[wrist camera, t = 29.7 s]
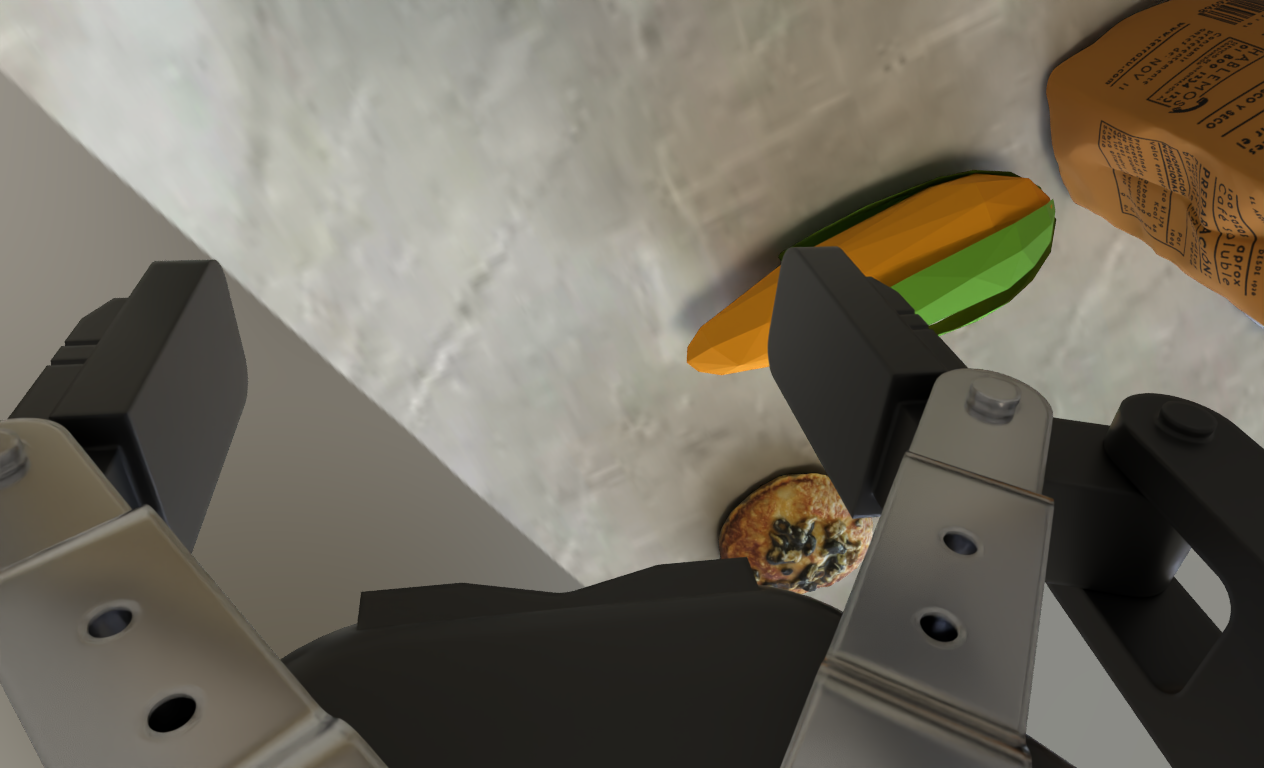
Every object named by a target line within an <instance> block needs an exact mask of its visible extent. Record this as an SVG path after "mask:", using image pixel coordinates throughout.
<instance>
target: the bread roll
mask: <svg viewBox="0 0 1264 768" xmlns="http://www.w3.org/2000/svg"><path fill="white" fill-rule="evenodd" d="M872 527H873V521H872V518H871V517H870V518H858V519H852V517H851V516H850V514H849V512H848V510H847V508H846V507H845V505H844V503H843V501H842V499H841V498H840V496H839V494H838V492H837V491H836V489H835V487H834V485H833V483H832V482H831V480H830V478H829V477H828V476H827V475H821V474H818V473H809V474H796V475H795V474H793V475H791V474H789V475H782V476H781V477H780V476H779V477H777V478H776V479H773V480H771V481H769V482H768V483H766V484H765V485H763V486H762V485H761V486H760V488H758V489H757V490H755V491H754V492H753V493H751V494H750V495H749V496H747V498H746V499H745V500H744V501H743V502H741V503H740V504H739V505H738V506H737V507H736V508H735V509H734V510H733V511H731V513H730V514H729V516H728V518H727V520H726V521H725V523H724V525H723V527H722V529H721V533H720V536H719V550H720V557H721V558H720V559H727V558H738V557H747V558H748V561H749V563H750V566H751V568H752V571H753V574H754V576H755V579H756V581H757V584H758V585H764V586H771V587H775V588H780V589H785V590H789V591H793V592H796V593H799V594H804V593H806V592H811V591H815V590H816V589H817V588H820V587H828V586H831V585H832V584H834V583H835V582H838V581H840V580H841V579H843V578H844V577H846V576H847V575H848V574H850V573H851V572H852V571H853V570H855V569H857V567H858V565H859V564H860V563H861V562H862V560H863V559H864V557H865V554H866V552H867V549H868V547H869V544H870V542H871V539H872V535H873V533H872Z"/></svg>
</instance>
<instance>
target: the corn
mask: <svg viewBox="0 0 1264 768" xmlns="http://www.w3.org/2000/svg"><path fill="white" fill-rule="evenodd" d="M1055 224H1056V218H1055V206H1054V201H1053V199H1052V200H1051V201H1050V198H1049V197H1048V196H1047V195H1046V194H1045V193H1044V192H1043V191H1042V190H1041V187H1039V186H1037V185H1035V184H1034V183H1033V182H1032V181H1031V180H1030V179H1029V178H1022V177H1020V176H1018V175H1016V174H1014V173H1012V172H1002V171H983V170H972V171H967V172H962V173H957V174H952V175H947V176H942V177H938V178H935V179H933V180H930V181H928V182H925V183H923V184H920V185H918V186H915V187H913V188H910V189H908V190H905V191H902V192H900V193H897V194H895V195H892V196H890V197H887V198H885V199H882V200H880V201H877V202H875V203H872V204H870V205H867V206H865V207H863V208H861V209H859V210H858V211H856V212H854V213H852V214H850V215H848V216H846V217H844V218H842V219H840V220H838V221H836V222H834V223H833V224H831V225H829V226H827V227H825V228H823V229H821V230H819V231H817V232H815V233H814V234H812V235H810V236H809V237H807V238H805V239H803V240H802V241H800V242H798V243H797V244H795V245H793V246H791V247H825V246H838V247H840V248H841V249H842V250H843V251H844V252H845V254H846V255H847V256H848V257H849V258H850V259H851V260H852V261H853V263H854V264H855V265H856V266H857V267H858V268H859V269H860V271H861V272H862V273H863V274H864V275H865V276H866V277H873V278H874V279H876V280H878V281H880V282H881V283H883V284H885V285H887V286H888V287H890V288H892V289H894V290H895V291H897V292H899V293H900V295H901V296H902V297H903V298H904V299H905V300H906V301H907V302H908V303H909V304H910V305H911V307H912V308H913V309H914V310H915V314H919V315H920V316H921V317H922V318H923V320H924V321H925V322H926V323H927V324H928V325H930V324H932V323H935V322H937V321H939V320H941V319H943V318H945V319H943V320H942V321H940V322H938V323H935V324H933V325H930V326H929V329H933V330H934V332H935V333H936V334H937V335H938V336H941V335H943V334H946V333H948V332H951V331H954V330H956V329H959V328H961V327H964V326H966V325H969V324H971V323H974V322H976V321H978V320H980V319H982V318H983V317H985V316H987V315H988V314H990V313H992V312H993V311H995V310H997V309H998V308H1000V307H1002V306H1003V305H1005V304H1007V303H1008V302H1010V301H1011V300H1012V299H1013V298H1014V297H1015V296H1016V295H1017V294H1018V293H1019V292H1021V291H1022V290H1023V289H1024V288H1025V287H1026V286H1027V285H1028V284H1029V283H1030V282H1031V281H1032V280H1033V279H1034V277H1035V276H1036V274H1037V273H1038V271H1039V269H1040V268H1041V266H1042V265H1043V263H1044V262H1045V260H1046V259H1047V257H1048V256H1049V254H1050V252H1051V247H1052V241H1053V235H1054V230H1055ZM786 250H787V249H786ZM786 250H785V251H783V252H781V253H780V255H779V257H778V258H779V259H780V260H781V261H782V259H783V256H784V254H785V252H786ZM780 267H781V265H780V266H778V267H777V268H776V269H775V270H773V271H772V272H771V273H770V274H768V275H767V276H766V277H764V278H763V279H762V280H761V281H759V282H758V283H757V284H755V285H754V286H753V287H752V288H750V289H749V290H748V291H747V292H745V293H744V294H743V295H741V296H740V297H739V298H738V299H736V300H735V301H734V302H732V303H731V304H730V305H729V306H727V307H726V308H725V309H723V310H722V311H721V312H720V313H718V314H717V315H716V316H715V317H713V318H712V319H711V320H709V321H708V322H707V323H706V324H704V325H703V326H702V327H701V328H700V329H699V331H698V332H697V334H696V335H695V337H694V338H693V340H692V341H691V343H690V344H689V346H688V348H687V363H688V364H689V365H691V366H692V367H693V368H695V369H696V370H697V371H698V372H705V373H711V374H718V375H724V374H730V373H736V372H741V371H747V370H752V369H758V368H764V367H769V361H768V336H769V330H770V324H771V318H772V313H773V307H774V301H775V296H776V290H777V284H778V278H779V273H780ZM956 312H957V313H956ZM954 313H955V314H954ZM952 314H953V315H952ZM950 315H951V316H950ZM948 316H949V317H948ZM946 317H947V318H946Z"/></svg>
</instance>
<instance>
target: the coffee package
mask: <svg viewBox="0 0 1264 768" xmlns="http://www.w3.org/2000/svg"><path fill="white" fill-rule="evenodd" d="M1046 95H1047V99H1048V104H1049V109H1050V125H1051V138H1052V145H1053V149H1054V154H1055V159H1056V160H1057V162H1058V165H1059V172H1060V175H1061V177H1062V180H1063V183H1064V185H1065V186H1066V188H1067V189H1068V191H1069V194H1070V196H1071V198H1072V200H1073V201H1074V202H1075V203H1076V204H1078V205H1080V206H1082V207H1084V208H1087V209H1088V210H1090V211H1092V212H1093V213H1095V214H1097V215H1099V216H1101V217H1103V218H1104V219H1106V220H1107V221H1108V222H1109V223H1111V224H1112V225H1113V226H1115V227H1116V228H1118V229H1121V230H1123V231H1125V232H1127V233H1129V234H1131V235H1133V236H1135V237H1137V238H1139V239H1141V240H1142V241H1144V242H1145V243H1146V244H1147V245H1149V246H1150V247H1151V248H1152V249H1153V250H1154V251H1155V253H1156V254H1157V255H1159V256H1161V257H1163V258H1165V259H1167V260H1169V261H1171V262H1172V263H1174V264H1175V265H1177V266H1178V267H1179V268H1180V269H1181V270H1182V271H1183V272H1184V273H1185V274H1187V275H1188V276H1190V277H1191V278H1193V279H1195V280H1196V281H1198V282H1199V283H1201V284H1203V285H1204V286H1206V287H1207V288H1209V289H1211V290H1212V291H1214V292H1216V293H1218V294H1220V295H1222V296H1223V297H1225V298H1227V299H1228V300H1229V301H1230V302H1231V303H1232V304H1233V305H1235V306H1236V307H1237V308H1238V309H1240V310H1241V311H1243V312H1244V313H1246V314H1247V315H1249V316H1250V317H1251V318H1253V319H1254V320H1256V321H1257V322H1259V323H1260V324H1262V325H1263V326H1264V0H1171V1H1168V2H1164V3H1162V4H1159V5H1156V6H1153V7H1151V8H1148V9H1146V10H1143V11H1140V12H1138V13H1136V14H1134V15H1132V16H1130V17H1128V18H1126V19H1124V20H1122V21H1121V22H1119V23H1118V24H1116V25H1115V26H1114V27H1113V28H1111V29H1110V30H1109V31H1108V32H1106V33H1105V34H1104V35H1103V36H1102V37H1101V38H1100V39H1099V40H1097V41H1096V42H1095V43H1094V44H1092V45H1091V46H1089V47H1087V48H1085V49H1084V50H1082V51H1080V52H1079V53H1077V54H1075V55H1074V56H1072V57H1070V58H1069V59H1067V60H1066V61H1064V62H1063V63H1061V64H1060V65H1058V66H1057V67H1056V68H1055V69H1054V70H1053V71H1052V73H1051V74H1050V77H1049V79H1048V83H1047V89H1046Z"/></svg>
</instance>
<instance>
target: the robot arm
mask: <svg viewBox="0 0 1264 768" xmlns="http://www.w3.org/2000/svg"><path fill="white" fill-rule="evenodd" d="M768 361H769V366H770V370H771V373H772V376H773V378H774V380H775V381H776V383H777V385H778V387H779V389H780V390H781V392H782V394H783V396H784V398H785V399H786V401H787V403H788V405H789V406H790V408H791V410H792V412H793V414H794V415H795V417H796V419H797V421H798V423H799V424H800V426H801V428H802V430H803V432H804V433H805V435H806V437H807V439H808V440H809V442H810V444H811V446H812V448H813V449H814V451H815V453H816V455H817V457H818V458H819V460H820V462H821V464H822V465H823V467H824V469H825V471H826V473H827V474H828V476H829V478H830V480H831V482H832V483H833V485H834V487H835V489H836V491H837V492H838V494H839V496H840V498H841V499H842V501H843V503H844V505H845V507H846V508H847V510H848V512H849V514H850V516H851V517H852V519H858V518H870V517H880V518H879V521H878V523H877V526H876V529H875V531H874V534H873V536H872V539H871V542H870V544H869V547H868V549H867V552H866V554H865V557H864V560H863V562H862V565H861V567H860V570H859V573H858V575H857V578H856V580H855V583H854V585H853V588H852V591H851V593H850V596H849V598H848V601H847V603H846V606H845V609H844V611H843V612H842V611H840V610H838V609H836V608H834V607H833V606H831V605H828V604H826V603H823V602H821V601H819V600H816V599H814V598H812V597H809V596H805V595H802V594H799V593H796V592H793V591H789V590H785V589H780V588H775V587H771V586H764V585H758V584H757V581H756V579H755V576H754V574H753V571H752V568H751V566H750V563H749V561H748V558H747V557H738V558H727V559H716V560H705V561H694V562H683V563H672V564H661V565H656V566H653V567H649V568H646V569H643V570H640V571H636V572H633V573H630V574H627V575H624V576H620V577H617V578H614V579H611V580H608V581H604V582H601V583H598V584H595V585H591V586H588V587H585V588H582V589H579V590H575V591H572V592H566V593H552V592H543V591H534V590H524V589H515V588H506V587H497V586H488V585H478V584H469V583H454V584H443V585H432V586H421V587H412V588H411V587H410V588H399V589H389V590H377V591H366V592H361V598H360V607H359V615H358V623H357V624H354V625H351V626H348V627H344V628H342V629H339V630H337V631H334V632H332V633H329V634H327V635H325V636H322V637H320V638H318V639H316V640H314V641H312V642H310V643H308V644H306V645H304V646H302V647H300V648H298V649H296V650H295V651H293V652H291V653H290V654H288V655H287V656H285V657H284V658H282V659H279V657H278V656H277V655H276V654H275V653H274V652H273V650H272V649H271V648H270V647H269V646H268V644H267V643H266V642H265V641H264V640H263V639H262V637H261V636H260V635H259V634H258V633H257V631H256V630H255V629H254V628H253V627H252V625H251V624H250V623H249V622H248V621H247V619H246V618H245V617H244V616H243V615H242V614H241V612H240V611H239V610H238V609H237V608H236V606H235V605H234V604H233V603H232V602H231V600H230V599H229V598H228V597H227V596H226V595H225V593H224V592H223V591H222V590H221V589H220V587H219V586H218V585H217V584H216V583H215V581H214V580H213V579H212V578H211V577H210V576H209V574H208V573H207V572H206V571H205V570H204V568H203V567H202V566H201V565H200V564H199V563H198V561H197V560H196V559H195V558H194V556H193V555H192V551H193V548H194V545H195V543H196V540H197V537H198V534H199V531H200V529H201V526H202V523H203V520H204V517H205V515H206V511H207V509H208V506H209V503H210V501H211V498H212V495H213V492H214V489H215V486H216V483H217V481H218V478H219V475H220V472H221V470H222V467H223V464H224V461H225V458H226V456H227V453H228V450H229V447H230V444H231V442H232V439H233V436H234V433H235V430H236V428H237V425H238V422H239V419H240V416H241V414H242V411H243V408H244V405H245V402H246V397H247V388H248V374H247V365H246V359H245V355H244V350H243V346H242V342H241V338H240V334H239V330H238V326H237V322H236V318H235V314H234V310H233V306H232V302H231V298H230V294H229V290H228V285H227V282H226V278H225V274H224V272H223V269H222V267H221V265H220V264H219V262H218V261H216V260H179V261H154V262H153V263H152V264H151V265H150V266H149V268H148V270H147V271H146V272H145V274H144V275H143V277H142V278H141V280H140V281H139V283H138V284H137V286H136V287H135V289H134V290H133V292H132V293H131V295H130V296H129V298H114V299H112V300H110V301H109V302H107V303H105V304H104V305H102V306H101V307H100V308H98V309H96V310H94V311H93V312H91V313H90V314H88V315H87V316H85V317H84V318H82V319H81V320H80V321H79V323H78V324H77V326H76V327H75V328H74V330H73V331H72V332H71V334H70V335H69V336H68V338H67V339H66V340H65V346H61V348H60V349H59V350H58V351H57V353H56V354H55V355H54V357H53V358H52V360H51V366H50V365H49V366H46V368H45V369H44V370H43V372H42V373H41V374H40V376H39V377H38V378H37V380H36V381H35V383H34V384H33V385H32V387H31V388H30V389H29V391H28V392H27V393H26V395H25V396H24V397H23V399H22V400H21V401H20V403H19V404H18V406H17V407H16V408H15V410H14V411H13V412H12V414H11V415H10V416H9V418H8V419H7V420H0V683H1V685H2V687H3V689H4V691H5V693H6V695H7V697H8V699H9V701H10V703H11V705H12V707H13V708H14V710H15V712H16V714H17V716H18V718H19V720H20V722H21V723H22V726H23V728H24V730H25V732H26V733H27V735H28V737H29V739H30V741H31V743H32V745H33V747H34V749H35V750H36V752H37V754H38V756H39V758H40V760H41V762H42V764H43V766H44V768H1076V767H1075V766H1073V765H1072V764H1070V763H1069V762H1067V761H1066V760H1064V759H1063V758H1061V757H1060V756H1058V755H1057V754H1055V753H1054V752H1053V751H1051V750H1049V749H1048V748H1046V747H1045V746H1044V745H1042V744H1041V743H1039V742H1038V741H1036V740H1034V739H1033V738H1032V737H1030V736H1029V735H1027V734H1026V727H1027V719H1028V711H1029V703H1030V694H1031V687H1032V679H1033V671H1034V663H1035V654H1036V647H1037V639H1038V631H1039V623H1040V615H1041V607H1042V599H1043V591H1044V583H1045V582H1046V584H1047V585H1048V587H1049V589H1050V590H1051V592H1052V593H1053V594H1054V596H1055V597H1056V599H1057V600H1058V602H1059V603H1060V605H1061V606H1062V608H1063V609H1064V611H1065V612H1066V614H1067V615H1068V617H1069V618H1070V619H1071V621H1072V622H1073V624H1074V625H1075V627H1076V628H1077V629H1078V631H1079V632H1080V634H1081V635H1082V637H1083V638H1084V640H1085V641H1086V643H1087V644H1088V646H1089V647H1090V649H1091V650H1092V651H1093V653H1094V654H1095V656H1096V657H1097V659H1098V660H1099V662H1100V663H1101V664H1102V666H1103V667H1104V669H1105V670H1106V672H1107V673H1108V675H1109V676H1110V678H1111V679H1112V681H1113V682H1114V683H1115V685H1116V687H1117V688H1118V689H1119V691H1120V692H1121V694H1122V695H1123V697H1124V698H1125V700H1126V701H1127V703H1128V704H1129V705H1130V707H1131V708H1132V710H1133V711H1134V713H1135V714H1136V716H1137V717H1138V719H1139V720H1140V721H1141V723H1142V724H1143V726H1144V727H1145V729H1146V730H1147V732H1148V733H1149V735H1150V736H1151V737H1152V739H1153V740H1154V742H1155V743H1156V745H1157V746H1158V748H1159V749H1160V751H1161V752H1162V754H1163V755H1164V756H1165V758H1166V759H1167V761H1168V762H1169V764H1170V765H1171V767H1172V768H1264V449H1263V448H1262V447H1261V446H1260V445H1258V444H1257V443H1256V442H1255V441H1254V440H1253V439H1251V438H1250V437H1249V436H1248V435H1247V434H1246V433H1244V432H1243V431H1242V430H1241V429H1240V428H1238V427H1237V426H1236V425H1235V424H1234V423H1232V422H1231V421H1230V420H1228V419H1227V418H1225V417H1224V416H1222V415H1220V414H1219V413H1217V412H1215V411H1213V410H1211V409H1209V408H1207V407H1205V406H1202V405H1200V404H1198V403H1195V402H1192V401H1189V400H1186V399H1182V398H1179V397H1175V396H1170V395H1164V394H1156V393H1144V394H1136V395H1132V396H1130V397H1127V398H1126V399H1125V400H1123V401H1122V403H1121V405H1120V407H1119V409H1118V411H1117V413H1116V415H1115V417H1114V419H1113V421H1112V423H1111V426H1108V425H1101V424H1094V423H1087V422H1080V421H1073V420H1066V419H1059V418H1054V417H1053V411H1052V408H1051V406H1050V404H1049V403H1048V401H1047V400H1046V399H1045V398H1044V397H1043V396H1042V395H1041V394H1040V393H1039V392H1038V391H1036V390H1035V389H1033V388H1032V387H1030V386H1029V385H1027V384H1025V383H1023V382H1022V381H1020V380H1017V379H1015V378H1013V377H1010V376H1007V375H1004V374H1001V373H998V372H994V371H989V370H983V369H972V368H967V366H966V365H965V364H964V363H963V362H962V361H961V360H960V359H959V358H958V357H957V356H956V354H955V353H954V352H953V351H952V350H951V349H950V348H949V347H948V346H947V345H946V344H945V342H944V341H943V340H942V339H941V338H940V337H939V336H938V335H937V334H936V333H935V332H934V330H933V329H929V325H928V324H927V323H926V322H925V321H924V320H923V318H922V317H921V316H920V315H919V314H915V310H914V309H913V308H912V307H911V305H910V304H909V303H908V302H907V301H906V300H905V299H904V298H903V297H902V296H901V295H900V293H899V292H897V291H895V290H894V289H892V288H890V287H888V286H887V285H885V284H883V283H881V282H880V281H878V280H876V279H874V278H873V277H866V276H865V275H864V274H863V273H862V272H861V271H860V269H859V268H858V267H857V266H856V265H855V264H854V263H853V261H852V260H851V259H850V258H849V257H848V256H847V255H846V254H845V252H844V251H843V250H842V249H841V248H840V247H838V246H825V247H790V248H788V249H787V250H786V252H785V254H784V256H783V259H782V262H781V267H780V273H779V278H778V284H777V290H776V296H775V301H774V307H773V313H772V318H771V324H770V330H769V336H768ZM1191 548H1193V550H1194V551H1195V552H1196V553H1197V554H1198V555H1199V556H1200V557H1201V558H1202V559H1203V561H1204V562H1205V563H1206V564H1207V565H1208V566H1209V567H1210V568H1211V569H1212V570H1213V571H1214V572H1215V574H1216V575H1217V576H1218V577H1219V578H1220V580H1221V581H1222V582H1223V584H1224V585H1225V588H1226V590H1227V592H1228V595H1229V598H1230V604H1231V615H1230V620H1229V623H1228V625H1227V627H1226V628H1225V630H1224V631H1223V633H1222V632H1221V631H1220V630H1219V628H1218V627H1217V626H1216V625H1215V624H1214V623H1213V621H1212V620H1211V619H1210V618H1209V617H1208V616H1207V614H1206V613H1205V612H1204V611H1203V610H1202V609H1201V608H1200V606H1199V605H1198V604H1197V603H1196V602H1195V600H1194V599H1193V598H1192V597H1191V596H1190V595H1189V593H1188V592H1187V591H1186V590H1185V589H1184V588H1183V586H1182V585H1181V584H1180V583H1179V582H1178V581H1177V579H1176V578H1175V577H1174V575H1175V574H1176V572H1177V570H1178V569H1179V567H1180V566H1181V564H1182V562H1183V561H1184V559H1185V557H1186V556H1187V554H1188V553H1189V551H1190V549H1191Z"/></svg>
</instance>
